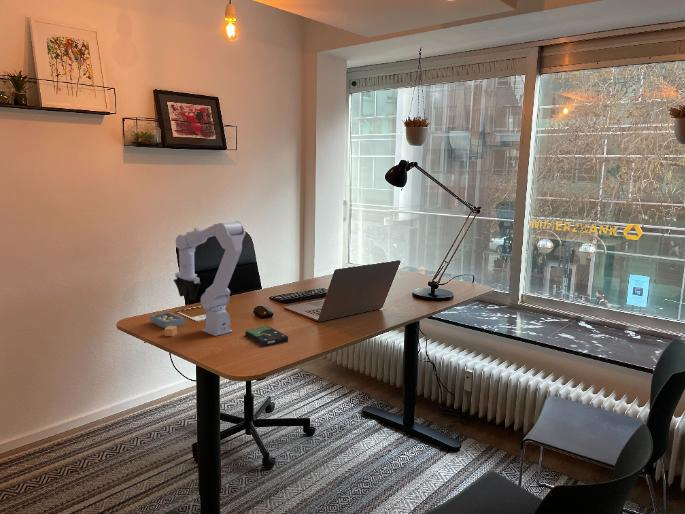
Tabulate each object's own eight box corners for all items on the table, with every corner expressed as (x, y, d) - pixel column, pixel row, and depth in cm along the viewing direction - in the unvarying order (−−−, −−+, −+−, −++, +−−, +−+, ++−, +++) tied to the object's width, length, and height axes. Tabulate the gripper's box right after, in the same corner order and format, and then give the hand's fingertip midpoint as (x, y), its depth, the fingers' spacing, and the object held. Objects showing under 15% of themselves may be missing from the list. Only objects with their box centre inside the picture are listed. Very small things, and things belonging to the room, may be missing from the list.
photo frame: (196, 320, 218) (174, 310, 230) (196, 322, 218) (174, 313, 230) (227, 313, 228) (204, 305, 240) (227, 316, 228) (204, 307, 241)
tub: (184, 325, 212) (184, 318, 212) (165, 329, 206) (165, 322, 206) (168, 319, 220) (168, 311, 220) (150, 322, 214) (150, 315, 214)
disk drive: (288, 343, 197) (268, 332, 208) (289, 336, 197) (268, 325, 208) (264, 348, 191) (244, 336, 202) (264, 341, 190) (244, 329, 202)
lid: (191, 334, 204) (191, 325, 203) (181, 341, 196) (181, 332, 195) (160, 332, 205) (160, 323, 205) (149, 339, 197) (149, 329, 197)
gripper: (206, 265, 210) (206, 299, 212) (185, 260, 219) (186, 292, 222) (190, 268, 205) (191, 302, 207) (170, 262, 214) (171, 295, 216)
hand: (187, 297), depth 214 cm, fingers open, 7 cm apart
